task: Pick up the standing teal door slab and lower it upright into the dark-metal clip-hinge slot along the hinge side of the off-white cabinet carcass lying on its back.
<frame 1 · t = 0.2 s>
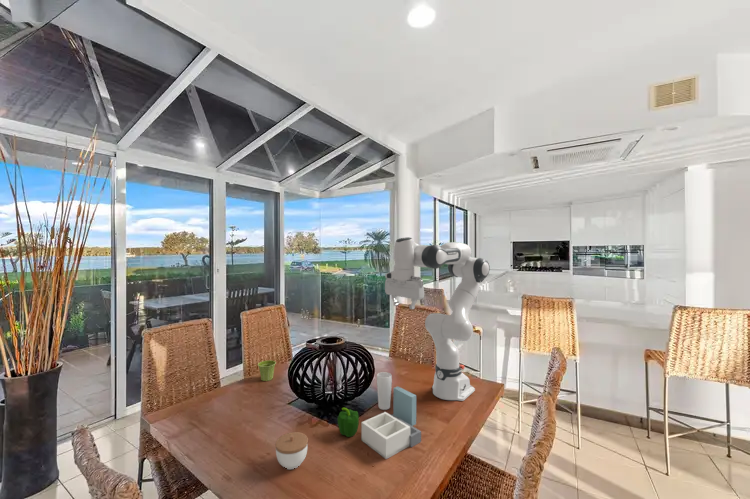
hand: (403, 307, 142), 47 cm above the table, fingers open, 8 cm apart
bell pepper: (348, 433, 129), on the table
door: (404, 419, 139), on the table
plant pot: (267, 379, 180), on the table
cabinet: (385, 442, 123), on the table
drinking glass: (384, 407, 149), on the table
lidded jar: (292, 463, 112), on the table
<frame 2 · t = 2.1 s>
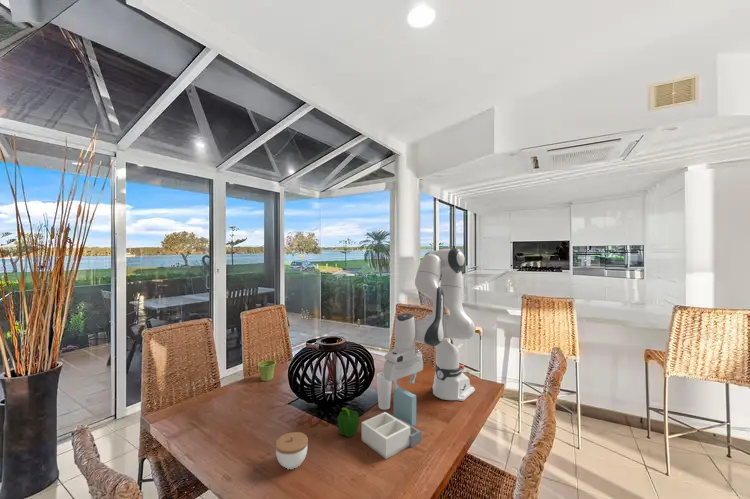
hand: (404, 386, 139), 15 cm above the table, fingers open, 8 cm apart
nothing on the table moved.
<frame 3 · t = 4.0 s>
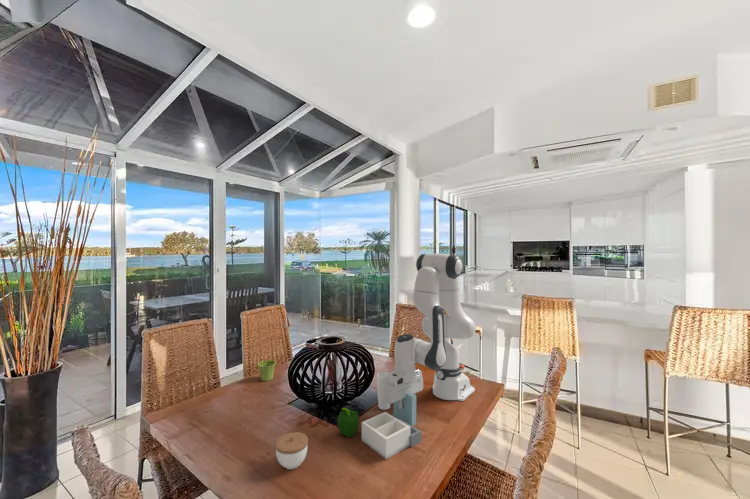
hand: (404, 406, 139), 6 cm above the table, fingers closed on door, 3 cm apart
door: (404, 419, 139), on the table, touching gripper
everything else where it was.
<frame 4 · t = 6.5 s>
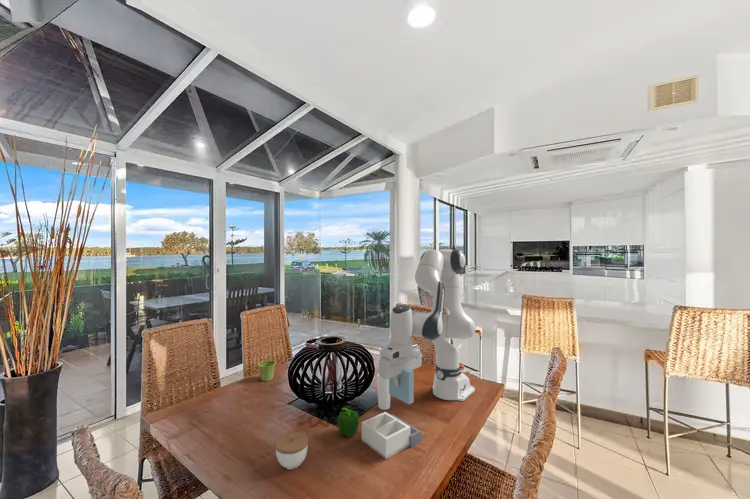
hand: (401, 383, 128), 20 cm above the table, fingers closed on door, 3 cm apart
door: (401, 398, 128), point 15 cm above the table, touching gripper
everything else where it was.
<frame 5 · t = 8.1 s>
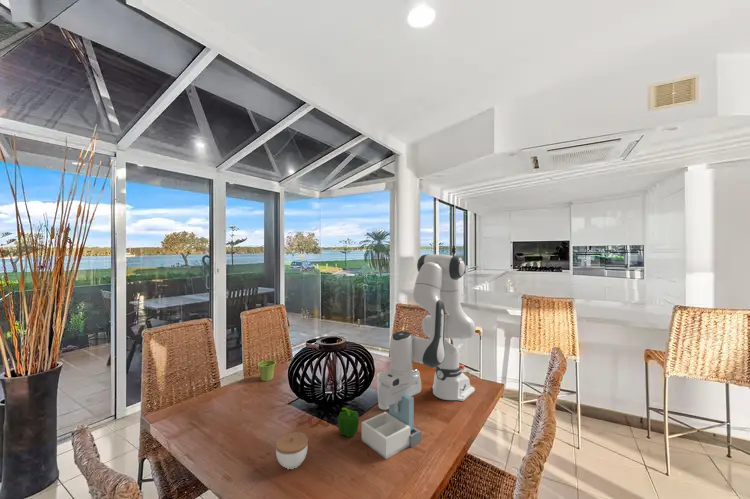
hand: (400, 409, 128), 10 cm above the table, fingers closed on door, 3 cm apart
door: (401, 424, 128), point 4 cm above the table, touching gripper
everything else where it was.
when the fingers open (8 cm above the table, at t = 9.2 s): door drops 2 cm, resting in cabinet.
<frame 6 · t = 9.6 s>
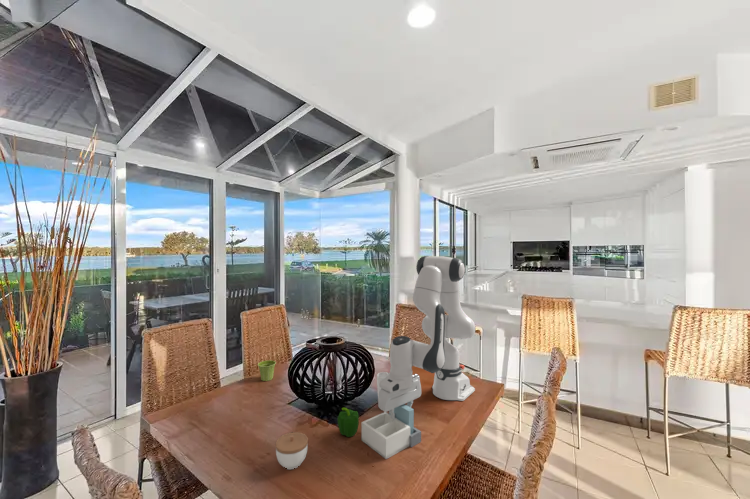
hand: (400, 414, 128), 8 cm above the table, fingers open, 7 cm apart
door: (400, 435, 128), resting in cabinet
everything else where it was.
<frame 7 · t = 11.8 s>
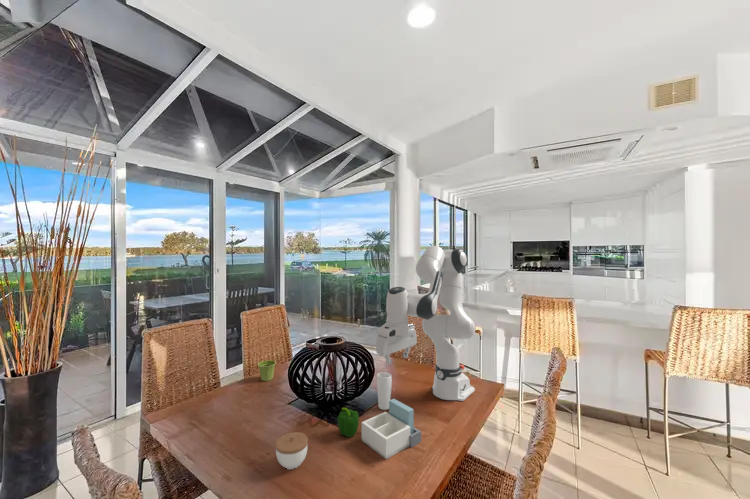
hand: (397, 360, 135), 27 cm above the table, fingers open, 8 cm apart
nothing on the table moved.
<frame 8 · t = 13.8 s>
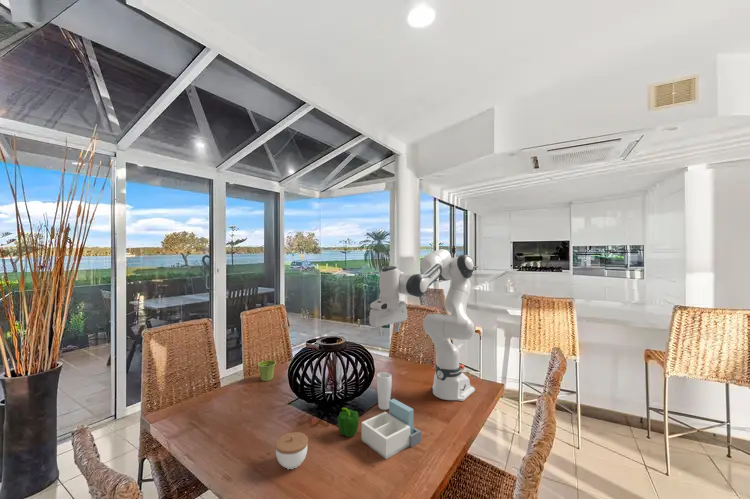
hand: (389, 333, 148), 34 cm above the table, fingers open, 8 cm apart
nothing on the table moved.
at the end: door inside the target area on the cabinet (0.1 cm from its centre), point 0.0 cm above the cabinet's base; door tilted 0°; the gripper is holding nothing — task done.
